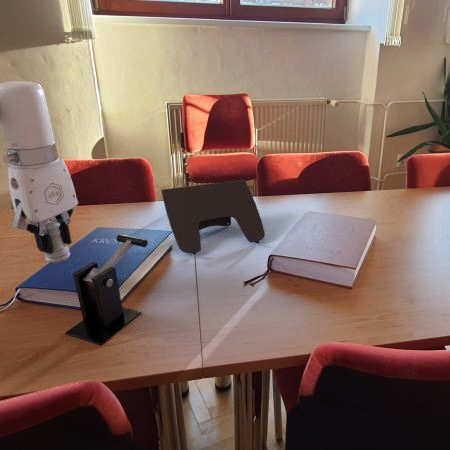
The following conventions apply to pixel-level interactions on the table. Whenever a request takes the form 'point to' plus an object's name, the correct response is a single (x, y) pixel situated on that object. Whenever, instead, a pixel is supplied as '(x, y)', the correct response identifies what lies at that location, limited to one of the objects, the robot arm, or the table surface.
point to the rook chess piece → (56, 243)
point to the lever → (115, 256)
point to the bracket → (100, 306)
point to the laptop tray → (211, 211)
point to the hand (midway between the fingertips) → (55, 246)
